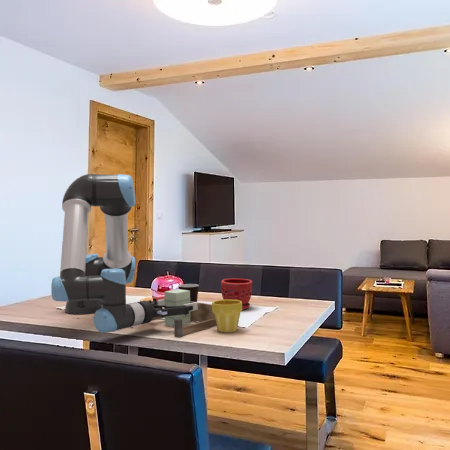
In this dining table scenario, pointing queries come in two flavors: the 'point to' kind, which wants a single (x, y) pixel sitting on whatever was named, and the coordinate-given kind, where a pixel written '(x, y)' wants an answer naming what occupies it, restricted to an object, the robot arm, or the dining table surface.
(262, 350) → the dining table surface
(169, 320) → the pale green box
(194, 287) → the coffee mug
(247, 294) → the plant pot
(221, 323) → the plant pot
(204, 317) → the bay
